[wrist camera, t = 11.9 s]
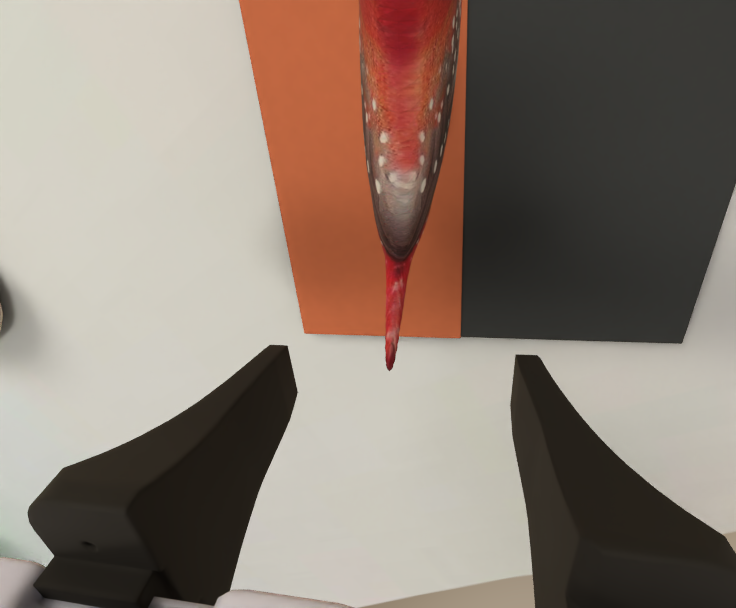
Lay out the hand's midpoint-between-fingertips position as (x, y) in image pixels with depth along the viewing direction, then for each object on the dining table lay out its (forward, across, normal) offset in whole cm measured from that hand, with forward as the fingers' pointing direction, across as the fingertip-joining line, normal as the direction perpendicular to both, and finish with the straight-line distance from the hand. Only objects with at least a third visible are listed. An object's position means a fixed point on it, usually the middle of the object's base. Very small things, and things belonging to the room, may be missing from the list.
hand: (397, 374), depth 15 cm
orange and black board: (+10, -3, -5) cm, 12 cm away
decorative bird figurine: (+10, 0, -6) cm, 12 cm away
